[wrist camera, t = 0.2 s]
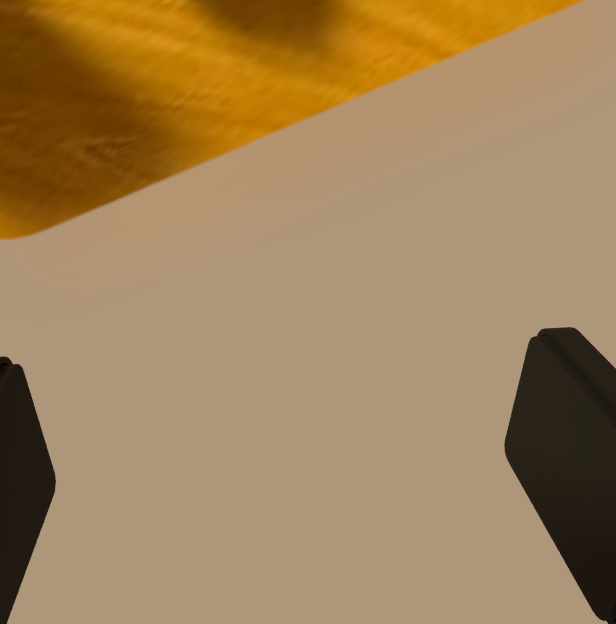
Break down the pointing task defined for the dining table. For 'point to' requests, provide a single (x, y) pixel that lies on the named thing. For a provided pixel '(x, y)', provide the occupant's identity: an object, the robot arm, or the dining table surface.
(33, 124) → the dining table surface
